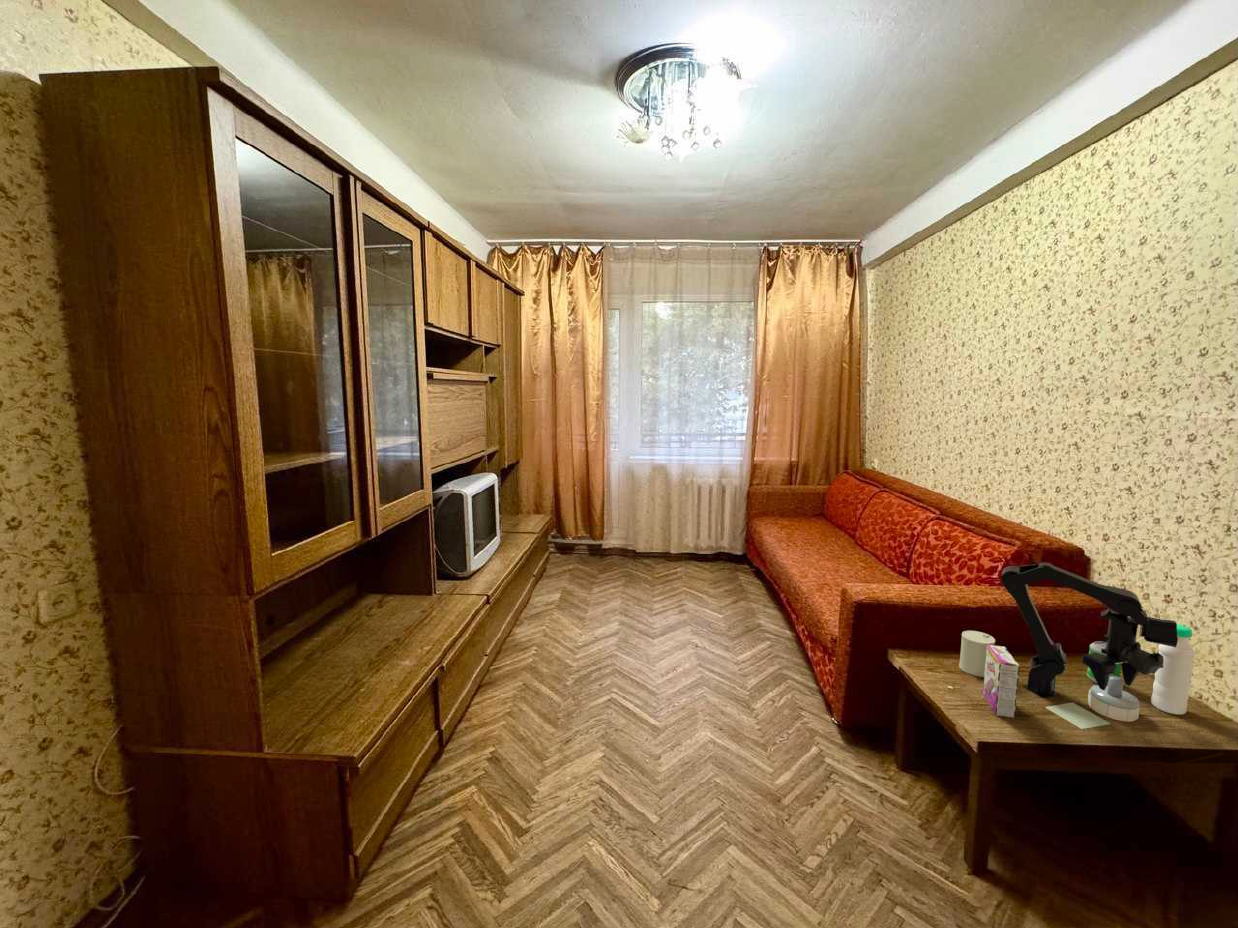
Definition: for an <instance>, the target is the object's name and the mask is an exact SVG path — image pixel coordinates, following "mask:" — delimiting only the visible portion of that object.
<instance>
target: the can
mask: <svg viewBox="0 0 1238 928" xmlns="http://www.w3.org/2000/svg"><path fill="white" fill-rule="evenodd" d="M960 642H961V643H960V644H961V645H960V657H959V663H958V666H959V669H960V670H962V671H963V672H965V673H967V674H969V675H971V676H975V677H978V678H984V673H985V660H986V647H987V645H995V646H996V639H995V638H994V637H993V636H992V635H990V634H988V633H985V632H981V631H977V630H964V631H962V633H961V641H960Z"/></svg>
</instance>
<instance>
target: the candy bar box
mask: <svg viewBox="0 0 1238 928" xmlns="http://www.w3.org/2000/svg"><path fill="white" fill-rule="evenodd" d="M1019 672H1020V664H1019V663H1018V662H1017V660H1015V658H1014V657H1013V656H1012V654H1011V653H1010V652H1009V650H1008V649H1007V647H1005V646H1002V645H996V644H995V645H987V647H986V660H985V673H984V677H983V689H982V695H983V697H984V698H985V700H986V701H987V703H988V704H989V706H990V707H991V711H993V713H994V715H995V716H998V717H1003V718H1005V717H1008V718H1013V719H1014V718H1016V708H1017V696H1018V686H1019V685H1018V684H1019Z"/></svg>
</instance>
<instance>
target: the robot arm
mask: <svg viewBox="0 0 1238 928" xmlns="http://www.w3.org/2000/svg"><path fill="white" fill-rule="evenodd" d="M1043 580H1049V581H1052V582H1054V583H1057V584H1058V585H1061V586H1063V587H1066V588H1068V589H1071V590H1073V591H1076V592H1078V593H1081V594H1083V595H1086V596H1087V597H1091V598H1093V599H1095V600H1096V601H1098V602H1100V603H1101V604H1102V605H1104V606H1105V607H1106V608H1107V609H1106V610H1105V609H1104V610H1103V611H1100V616H1101V618H1102V619H1105V620H1106V619H1107V620H1109V621H1108V629H1107V634H1104V635H1103V636H1102V640H1105V641H1106V642H1107V643H1106V648H1104V649H1101V652H1102V653H1104V654H1106V656H1108V657H1104V656H1102V655H1100V654H1097V653H1090V654H1089V653H1085V654H1083V655H1081V657H1082V658H1081V662H1082V663H1083V664H1084V665H1086V666H1088V667H1089V668H1090V670H1091V672H1092V673H1093V675H1094V677H1095V679H1096V682H1097V683H1096V685H1098V686H1099V688H1100V689H1102V690H1105V688H1106V686H1107V682H1108V678H1109V675H1111V674H1114V673H1116V672H1114V670H1115V669H1116V664H1120V663H1121V671H1122V672H1121V673H1122V677H1123V678H1122V679H1123V680H1124V684H1125V685H1126V686H1127V687H1128V686H1129V687H1130V686H1131V685H1132V684H1133V682H1134V681H1135V679H1136V677H1137V676H1138V675H1139V673H1140V674H1142V675H1144V676H1146V675H1149V674H1150V675H1151V674H1154V675H1155V673H1156V671H1157V670H1158V669H1159V668H1163V667H1164V666H1163V664H1164V663H1163V656H1162V655H1161V654H1159V652H1153V653H1151V652H1149V651H1146V650H1143V649H1141V648H1142V647H1141V646H1142V645H1141V644H1140V642H1139V641H1137V635H1138V634H1137V633H1138V626H1139V637H1142V638H1143V639H1144V641H1145V642H1148V643H1153V644H1157V645H1160V644H1162V645H1166V646H1171V647H1176V645H1177V642H1178V637H1177V624H1178V623H1177V621H1175V620H1171V619H1161V618H1157V617H1156V618H1155V617H1150V616H1148V614H1147V612H1146V611H1145V610H1144V609H1143V607H1142V603H1141V601H1140V598H1139V596H1138V595H1137V594H1136V593H1135V592H1133V591H1130V590H1128V589H1124V588H1120V587H1117V586H1110V585H1105V584H1101V583H1098V582H1095V581H1093V580H1091V579H1088V578H1085V577H1082V576H1081V575H1078V574H1076V573H1073V572H1070V571H1068V570H1065V569H1062V568H1060V567H1058V566H1055V565H1053V564H1052V563H1050V562H1046V561H1045V562H1039V563H1037V564H1036V563H1035V564H1025V565H1020V566H1017V565H1009V566H1006V567H1005V568H1003V570H1002V572H1001V577H1000V581H1001V582H1000V583H1001V585H1002V586H1003V587H1004V588H1005V590H1006V591H1007V593H1008V594H1009V595H1010V596H1011V597H1012V598H1013V600H1015V603H1016V605H1017V607H1018V609H1019V612H1020V613H1021V616H1022V617H1023V620H1024V622H1025V624H1026V627H1027V628H1028V631H1029V633H1030V635H1031V637H1032V639H1033V642H1034V643H1035V648H1036V649H1035V650H1036V653H1037V655H1034V656H1033V657H1031V658H1030V669H1029V671H1028V677H1027V684H1023V685H1022V686H1021V687H1022V688H1024V689H1026V690H1027V691H1029V692H1031V693H1033V694H1034V695H1036V696H1037V697H1040V698H1041V699H1046V698H1052V697H1057V696H1060V694H1059V693H1058V692H1057V691H1055V687H1056V676H1059V675H1062V674H1063V673H1064V672H1065V671H1066V666H1065V665H1066V664H1067V655H1066V653H1065V652H1064V651H1063V649H1062V645H1061V642H1057V643H1054V641H1053V640H1052V639H1051V637H1050V636H1049V634H1048V632H1047V629H1046V627H1045V625H1044V622H1043V621H1042V619H1041V617H1040V615H1039V612H1038V610H1037V608H1036V605H1035V604H1034V602H1033V600H1032V598H1031V596H1030V591H1029V585H1030V584H1033V583H1037V582H1040V581H1043Z"/></svg>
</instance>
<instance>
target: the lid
mask: <svg viewBox="0 0 1238 928" xmlns="http://www.w3.org/2000/svg"><path fill="white" fill-rule="evenodd" d="M1124 684H1125V682H1124V678H1121V676H1120V677H1117V676H1109V683H1108V686H1106V688H1105V690H1102V689H1100V688H1099V686H1098V684H1096V685H1092V686H1090V690H1091V691H1090V693H1091V695H1092V696H1093V697H1094V698H1095V699H1097V700H1099V701H1101V702H1103V703H1105V704H1107V705H1110V706H1113V707H1117V708H1121V709H1129V710H1132V709H1137V708H1138V707H1140V700H1139V699H1138V698H1137V697H1136V696H1135V695H1133V694H1132V693H1130V692H1128V691H1126V690H1124Z"/></svg>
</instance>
